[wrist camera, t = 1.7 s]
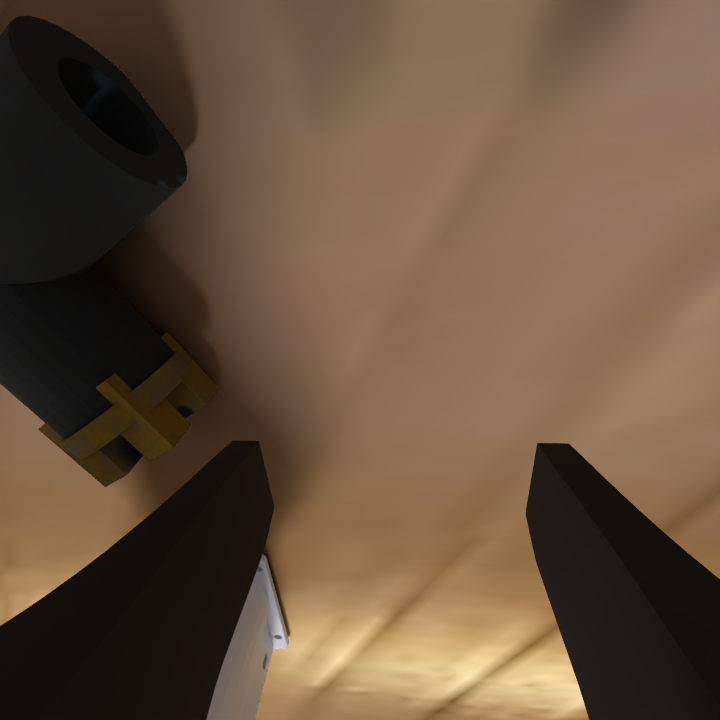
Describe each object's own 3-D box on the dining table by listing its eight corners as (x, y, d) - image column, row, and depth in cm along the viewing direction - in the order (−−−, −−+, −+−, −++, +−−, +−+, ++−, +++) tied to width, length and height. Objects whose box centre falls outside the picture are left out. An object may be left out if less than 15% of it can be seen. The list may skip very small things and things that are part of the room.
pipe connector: (284, 390, 12) (16, 544, 18) (319, 322, 17) (99, 459, 22) (-59, -14, 9) (-273, 332, 14) (106, 40, 13) (-100, 284, 19)
